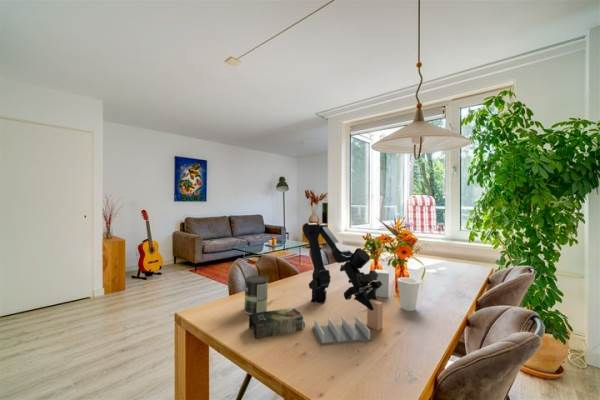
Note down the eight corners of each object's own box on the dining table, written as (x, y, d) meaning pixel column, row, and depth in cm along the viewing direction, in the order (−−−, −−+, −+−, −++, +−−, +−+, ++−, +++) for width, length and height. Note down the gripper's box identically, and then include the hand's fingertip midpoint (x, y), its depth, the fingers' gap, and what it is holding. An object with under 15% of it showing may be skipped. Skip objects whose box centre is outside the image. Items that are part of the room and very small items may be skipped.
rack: (312, 327, 101) (312, 318, 101) (358, 324, 104) (358, 315, 104) (320, 344, 89) (320, 334, 89) (372, 340, 92) (372, 330, 92)
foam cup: (418, 306, 125) (419, 279, 125) (418, 313, 116) (419, 284, 116) (397, 302, 128) (398, 276, 129) (396, 309, 120) (396, 281, 120)
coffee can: (244, 316, 110) (245, 282, 110) (244, 306, 120) (245, 275, 120) (268, 314, 112) (269, 281, 112) (266, 305, 122) (267, 275, 122)
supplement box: (388, 297, 136) (389, 273, 136) (374, 296, 137) (374, 272, 137) (386, 292, 143) (387, 269, 143) (373, 291, 144) (373, 269, 145)
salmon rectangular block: (367, 325, 104) (367, 300, 104) (371, 323, 105) (372, 298, 106) (377, 330, 100) (378, 304, 100) (382, 328, 101) (382, 302, 102)
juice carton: (296, 319, 108) (296, 304, 108) (306, 330, 99) (306, 314, 99) (248, 328, 100) (248, 312, 100) (254, 341, 91) (254, 324, 91)
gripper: (349, 266, 101) (372, 304, 92) (379, 261, 113) (401, 294, 104) (335, 282, 107) (355, 318, 99) (364, 275, 119) (384, 307, 110)
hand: (375, 309), depth 102 cm, fingers closed on salmon rectangular block, 3 cm apart
